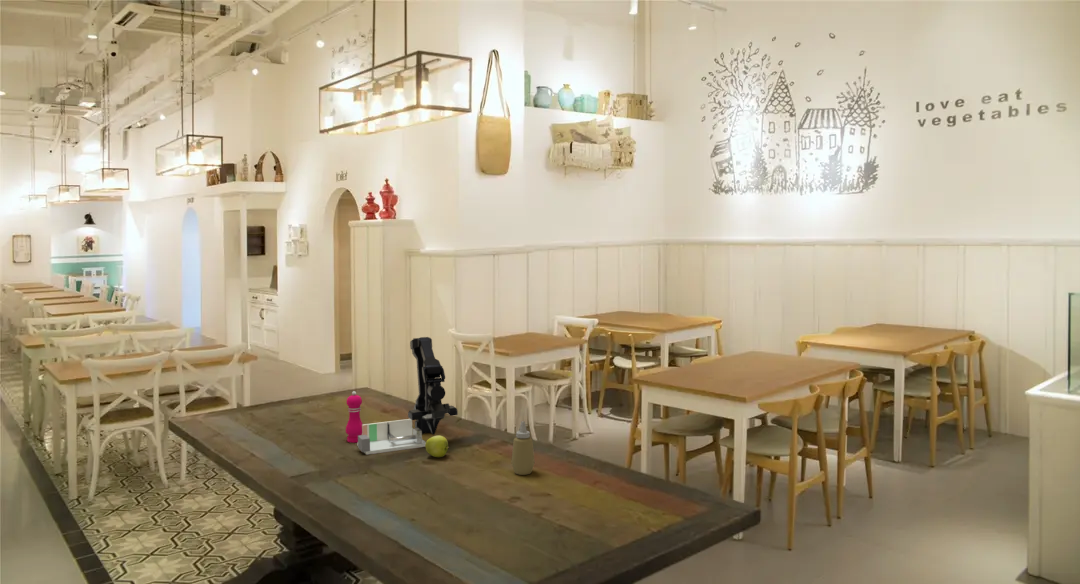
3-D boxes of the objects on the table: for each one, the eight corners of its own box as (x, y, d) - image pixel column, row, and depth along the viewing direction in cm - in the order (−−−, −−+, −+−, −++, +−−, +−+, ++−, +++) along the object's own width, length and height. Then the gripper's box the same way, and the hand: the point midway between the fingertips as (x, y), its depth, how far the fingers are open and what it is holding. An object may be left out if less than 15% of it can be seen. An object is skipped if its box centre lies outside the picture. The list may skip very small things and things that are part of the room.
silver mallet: (412, 435, 310) (412, 421, 309) (422, 442, 300) (421, 427, 299) (383, 439, 304) (383, 424, 304) (391, 446, 294) (391, 431, 294)
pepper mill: (366, 438, 312) (365, 389, 310) (360, 443, 305) (359, 393, 303) (349, 437, 312) (348, 389, 311) (343, 442, 305) (342, 393, 304)
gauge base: (416, 437, 312) (416, 418, 312) (427, 446, 300) (427, 425, 300) (353, 446, 301) (353, 425, 300) (362, 455, 289) (361, 433, 288)
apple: (446, 460, 282) (446, 439, 281) (422, 459, 284) (422, 438, 283) (453, 454, 289) (452, 433, 289) (429, 453, 291) (429, 432, 291)
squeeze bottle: (537, 470, 271) (537, 419, 269) (530, 477, 263) (529, 425, 262) (516, 468, 273) (516, 418, 272) (508, 475, 266) (507, 423, 264)
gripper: (416, 401, 292) (416, 442, 293) (462, 396, 300) (462, 436, 301) (407, 396, 301) (407, 435, 303) (452, 391, 310) (452, 429, 311)
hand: (433, 434), depth 304 cm, fingers closed
